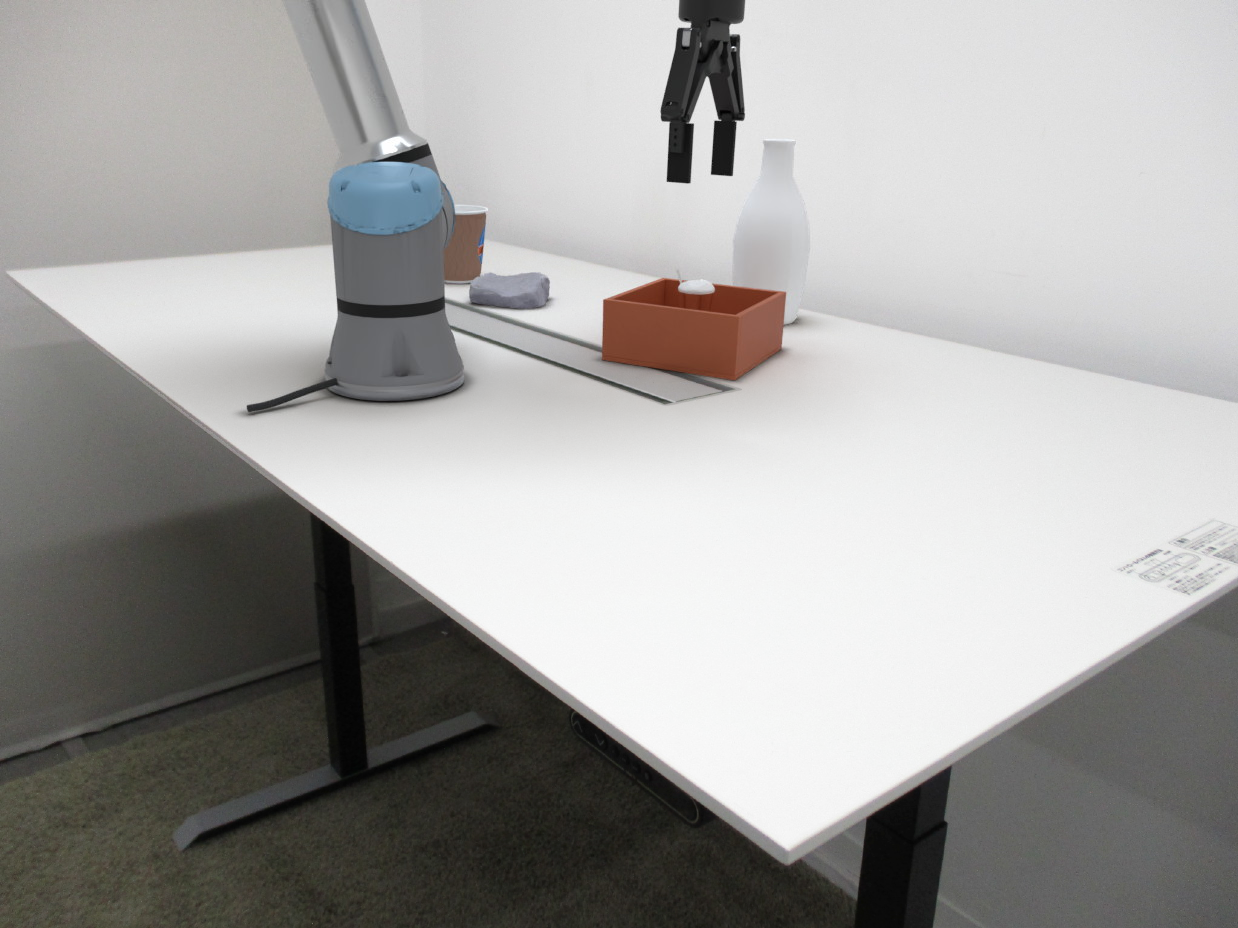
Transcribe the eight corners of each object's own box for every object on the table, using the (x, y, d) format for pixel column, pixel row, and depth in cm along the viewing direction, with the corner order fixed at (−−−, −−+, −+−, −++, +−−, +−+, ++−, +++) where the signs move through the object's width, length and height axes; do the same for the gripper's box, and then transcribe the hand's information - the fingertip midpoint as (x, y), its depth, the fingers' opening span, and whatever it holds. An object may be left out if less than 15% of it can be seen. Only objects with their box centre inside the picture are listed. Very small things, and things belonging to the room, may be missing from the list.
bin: (734, 380, 118) (739, 317, 115) (601, 360, 125) (603, 299, 123) (781, 349, 133) (786, 291, 130) (660, 332, 140) (662, 277, 138)
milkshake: (684, 344, 132) (688, 267, 128) (718, 351, 128) (722, 273, 125) (663, 350, 128) (666, 271, 125) (697, 358, 125) (701, 277, 122)
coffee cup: (496, 284, 170) (495, 211, 166) (435, 286, 166) (433, 212, 162) (481, 273, 179) (479, 204, 174) (423, 275, 175) (420, 205, 171)
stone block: (542, 320, 152) (552, 295, 161) (540, 291, 150) (550, 266, 158) (465, 319, 154) (479, 294, 162) (461, 290, 151) (476, 265, 159)
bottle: (746, 308, 157) (758, 136, 148) (814, 317, 152) (831, 140, 143) (715, 320, 148) (726, 139, 139) (786, 331, 143) (802, 143, 134)
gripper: (701, -27, 102) (689, 188, 110) (779, -5, 123) (764, 174, 131) (635, -27, 105) (627, 183, 113) (722, -5, 126) (711, 170, 134)
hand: (701, 179), depth 122 cm, fingers open, 13 cm apart
